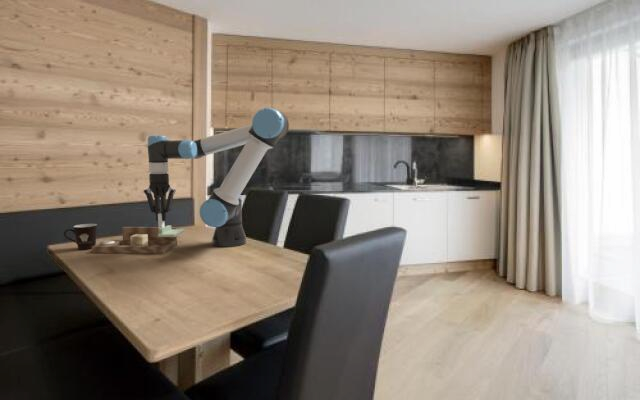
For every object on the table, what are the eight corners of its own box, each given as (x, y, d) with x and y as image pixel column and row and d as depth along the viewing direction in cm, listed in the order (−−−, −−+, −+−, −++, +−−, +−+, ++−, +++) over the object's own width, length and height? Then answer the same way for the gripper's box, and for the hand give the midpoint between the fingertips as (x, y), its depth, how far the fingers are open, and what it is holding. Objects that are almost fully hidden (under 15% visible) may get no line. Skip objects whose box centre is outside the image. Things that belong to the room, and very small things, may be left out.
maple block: (148, 247, 169) (147, 234, 168) (142, 250, 164) (141, 236, 163) (137, 247, 169) (136, 234, 168) (131, 250, 164) (130, 236, 163)
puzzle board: (177, 245, 173) (176, 227, 172) (163, 253, 159) (162, 233, 158) (111, 244, 174) (110, 226, 173) (92, 252, 160) (90, 233, 159)
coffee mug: (102, 246, 172) (101, 223, 170) (89, 251, 163) (87, 227, 162) (78, 245, 173) (76, 223, 172) (63, 250, 164) (61, 227, 163)
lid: (184, 231, 170) (184, 224, 170) (174, 236, 159) (174, 229, 159) (169, 231, 171) (168, 224, 170) (157, 236, 160) (157, 229, 159)
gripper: (177, 172, 166) (180, 227, 168) (147, 172, 166) (150, 227, 169) (170, 173, 158) (173, 230, 161) (139, 173, 159) (142, 230, 162)
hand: (161, 228), depth 165 cm, fingers closed
